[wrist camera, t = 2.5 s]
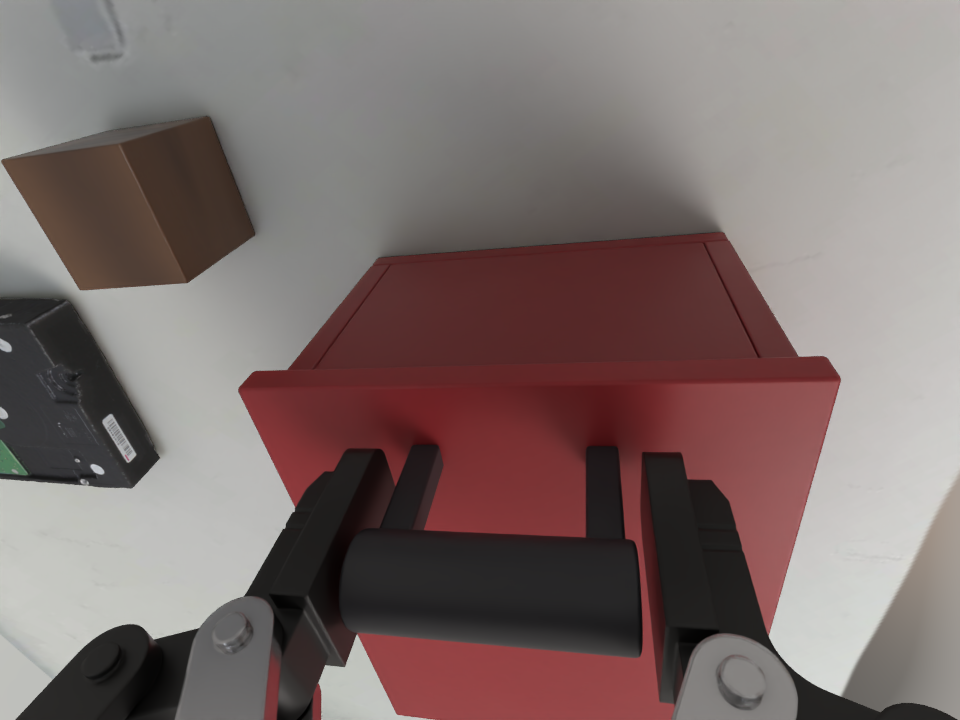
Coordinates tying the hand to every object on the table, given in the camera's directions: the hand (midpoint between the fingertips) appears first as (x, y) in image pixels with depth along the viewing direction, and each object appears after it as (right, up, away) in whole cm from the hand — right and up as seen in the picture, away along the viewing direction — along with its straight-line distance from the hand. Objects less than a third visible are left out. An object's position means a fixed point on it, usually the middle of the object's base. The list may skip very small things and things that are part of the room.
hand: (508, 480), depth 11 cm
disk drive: (-26, +2, +17) cm, 31 cm away
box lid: (+1, -4, +5) cm, 6 cm away
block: (-12, +9, +9) cm, 18 cm away
